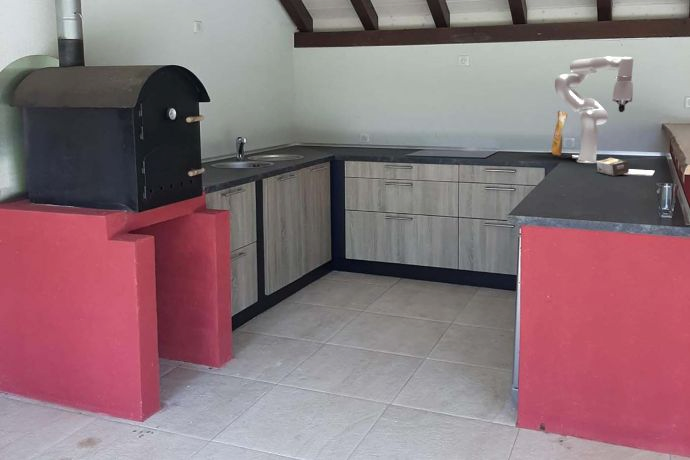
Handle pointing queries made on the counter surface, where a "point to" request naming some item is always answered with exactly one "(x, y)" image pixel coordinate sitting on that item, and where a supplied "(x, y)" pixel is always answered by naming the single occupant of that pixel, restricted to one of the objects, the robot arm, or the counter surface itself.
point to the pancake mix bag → (558, 133)
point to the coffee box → (613, 166)
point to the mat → (640, 172)
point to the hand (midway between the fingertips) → (621, 111)
